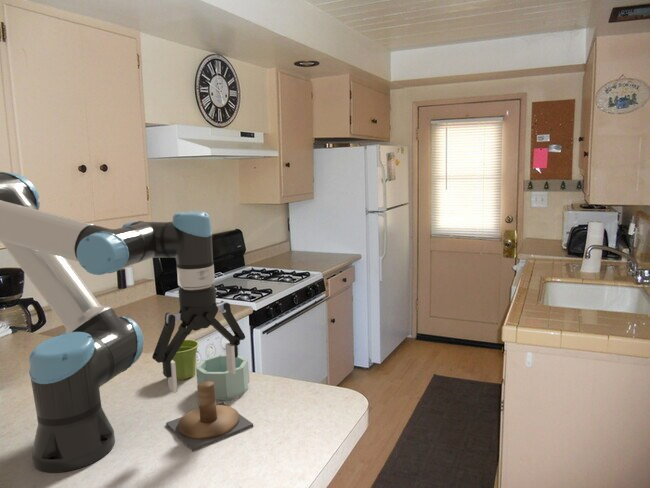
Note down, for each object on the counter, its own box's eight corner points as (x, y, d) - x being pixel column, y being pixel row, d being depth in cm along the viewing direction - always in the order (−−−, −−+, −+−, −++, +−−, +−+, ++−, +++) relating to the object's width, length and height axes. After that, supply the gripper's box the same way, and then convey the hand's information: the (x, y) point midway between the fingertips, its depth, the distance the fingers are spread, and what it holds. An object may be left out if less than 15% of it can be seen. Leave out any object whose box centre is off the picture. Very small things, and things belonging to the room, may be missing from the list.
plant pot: (196, 382, 135) (193, 351, 133) (160, 383, 135) (157, 352, 133) (205, 368, 144) (202, 338, 142) (172, 369, 144) (169, 340, 143)
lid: (194, 446, 103) (190, 405, 101) (169, 422, 113) (165, 384, 111) (250, 423, 111) (247, 385, 109) (222, 403, 121) (219, 367, 119)
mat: (193, 451, 102) (192, 448, 102) (166, 425, 113) (166, 422, 113) (253, 426, 111) (253, 423, 111) (223, 404, 122) (222, 402, 121)
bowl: (213, 405, 121) (211, 377, 120) (192, 389, 130) (189, 363, 129) (257, 389, 128) (255, 363, 127) (233, 375, 138) (231, 351, 137)
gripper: (143, 300, 96) (152, 405, 100) (257, 278, 111) (261, 370, 115) (130, 293, 102) (139, 392, 105) (240, 273, 117) (245, 360, 121)
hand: (203, 381), depth 110 cm, fingers open, 13 cm apart
